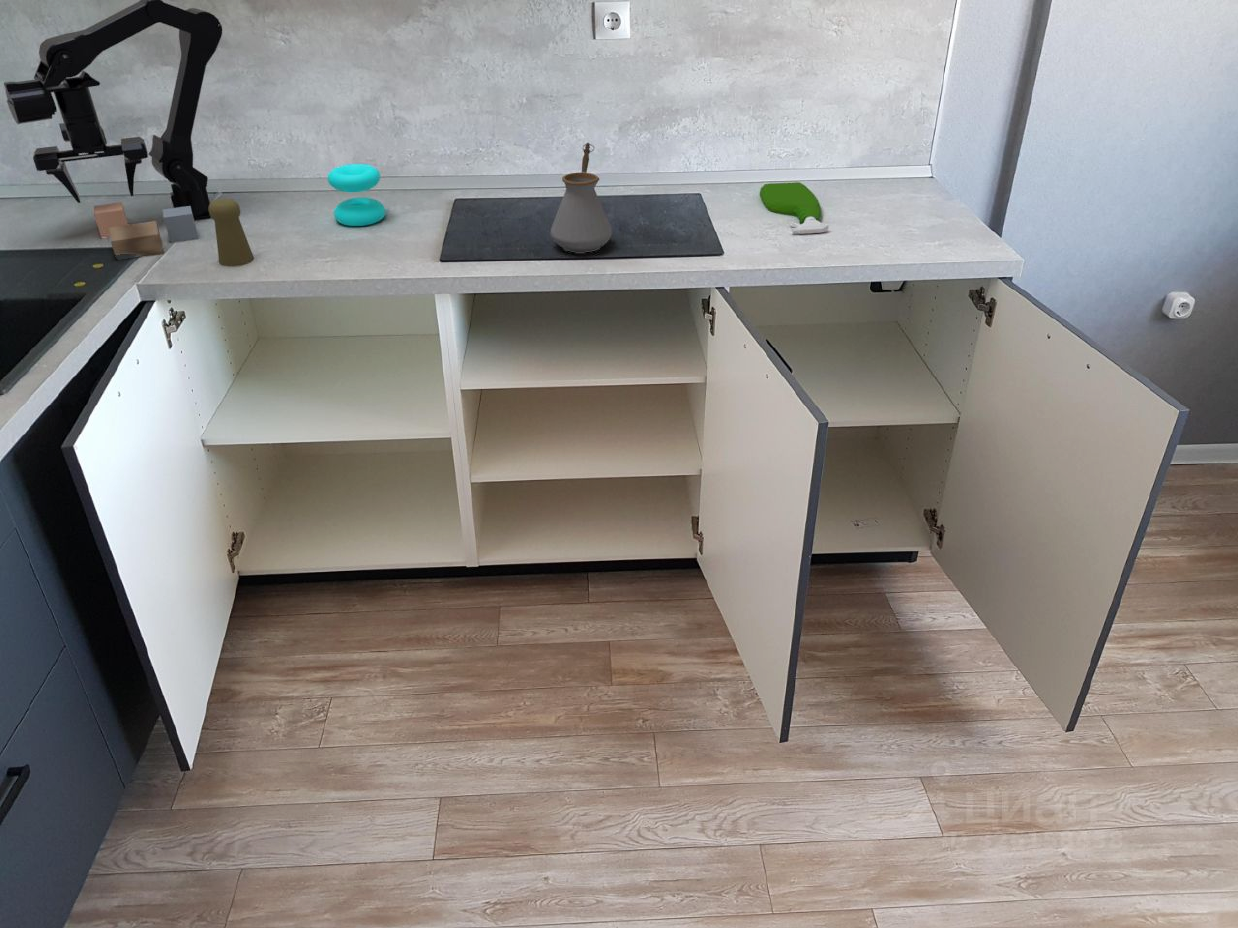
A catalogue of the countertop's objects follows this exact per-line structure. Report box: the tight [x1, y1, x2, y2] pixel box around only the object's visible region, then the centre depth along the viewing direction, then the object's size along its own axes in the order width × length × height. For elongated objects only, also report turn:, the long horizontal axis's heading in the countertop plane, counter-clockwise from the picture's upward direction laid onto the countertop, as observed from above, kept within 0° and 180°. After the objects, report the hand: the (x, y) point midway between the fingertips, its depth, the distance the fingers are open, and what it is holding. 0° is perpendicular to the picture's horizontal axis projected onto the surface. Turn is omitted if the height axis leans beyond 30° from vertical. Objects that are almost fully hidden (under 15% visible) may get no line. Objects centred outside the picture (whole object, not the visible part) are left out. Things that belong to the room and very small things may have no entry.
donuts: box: [327, 163, 386, 227], centre depth 186 cm, size 10×10×10 cm
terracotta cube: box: [93, 202, 130, 239], centre depth 183 cm, size 5×5×5 cm
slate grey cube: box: [162, 206, 200, 244], centre depth 181 cm, size 5×5×5 cm
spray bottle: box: [759, 181, 829, 235], centre depth 190 cm, size 3×11×24 cm
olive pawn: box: [209, 198, 255, 267], centre depth 169 cm, size 6×6×11 cm
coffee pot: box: [550, 142, 613, 252], centre depth 176 cm, size 21×12×15 cm, turn 176°
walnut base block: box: [109, 220, 165, 257], centre depth 175 cm, size 8×8×4 cm
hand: (106, 199), depth 180 cm, fingers open, 9 cm apart
